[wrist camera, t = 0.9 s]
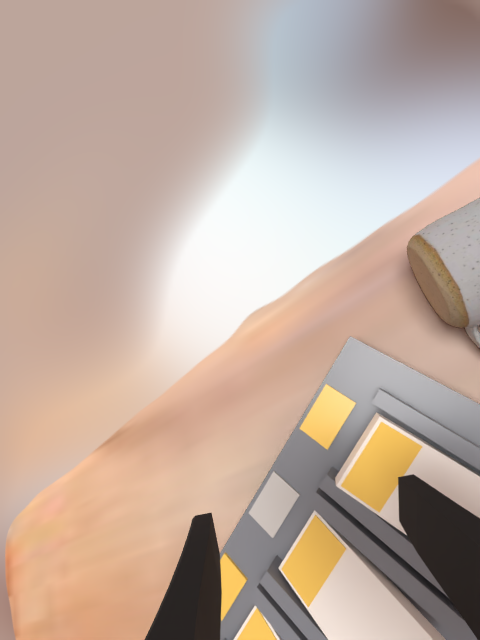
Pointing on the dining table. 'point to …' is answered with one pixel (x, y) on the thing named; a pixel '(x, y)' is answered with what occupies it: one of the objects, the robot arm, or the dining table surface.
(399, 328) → the dining table surface
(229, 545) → the switch panel
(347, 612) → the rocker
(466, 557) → the robot arm
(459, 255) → the ceramic mug
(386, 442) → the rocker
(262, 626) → the rocker
